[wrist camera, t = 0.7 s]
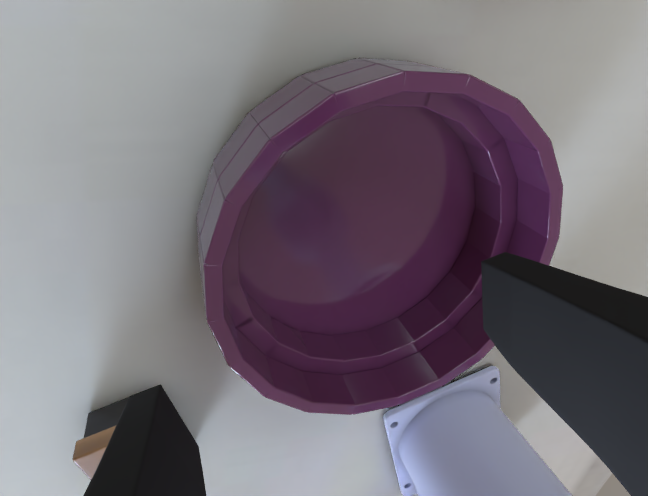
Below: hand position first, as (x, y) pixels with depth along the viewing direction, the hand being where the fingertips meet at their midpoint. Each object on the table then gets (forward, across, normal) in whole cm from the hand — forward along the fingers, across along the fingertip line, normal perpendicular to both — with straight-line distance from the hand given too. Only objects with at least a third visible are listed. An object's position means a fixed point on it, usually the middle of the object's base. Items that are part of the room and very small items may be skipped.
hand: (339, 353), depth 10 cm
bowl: (+10, -4, +3) cm, 11 cm away
